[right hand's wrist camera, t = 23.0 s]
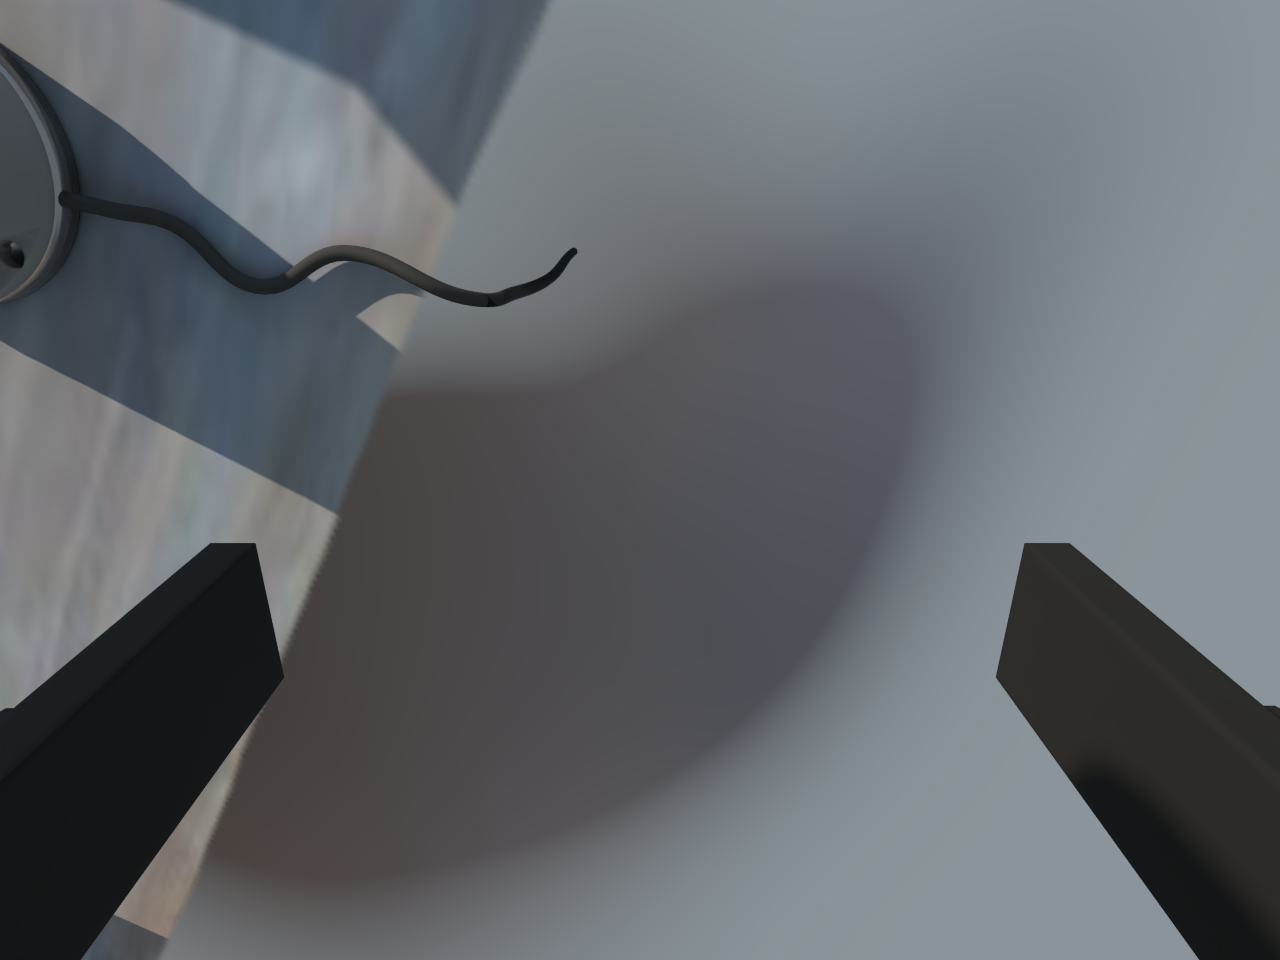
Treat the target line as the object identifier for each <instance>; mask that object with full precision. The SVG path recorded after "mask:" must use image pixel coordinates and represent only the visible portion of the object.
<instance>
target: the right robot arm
mask: <svg viewBox="0 0 1280 960" xmlns="http://www.w3.org/2000/svg"><path fill="white" fill-rule="evenodd" d="M79 211H82V212H87V213H91V214H96V215H100V216H105V217H109V218H114V219H119V220H125V221H132V222H139V223H146V224H151V225H155V226H159V227H162V228H165V229H167V230H169V231H171V232H173V233H175V234H177V235H178V236H180V237H181V238H183V239H184V240H185V241H187V242H188V243H189V244H190V245H191V246H192V247H193V248H194V249H195V250H196V251H197V252H198V253H199V254H200V255H201V256H202V257H203V258H204V259H205V260H206V261H207V262H208V264H209V265H210V266H211V267H212V268H213V269H214V270H215V271H216V272H217V273H218V274H219V275H221V276H222V277H223V278H224V279H226V280H227V281H228V282H230V283H231V284H233V285H234V286H236V287H238V288H240V289H242V290H245V291H248V292H251V293H255V294H276V293H279V292H282V291H285V290H287V289H289V288H291V287H293V286H294V285H296V284H298V283H299V282H300V281H302V280H303V279H305V278H306V277H307V276H309V275H310V274H311V273H313V272H314V271H316V270H317V269H319V268H321V267H322V266H324V265H327V264H329V263H332V262H336V261H355V262H361V263H366V264H370V265H373V266H376V267H379V268H381V269H384V270H386V271H388V272H391V273H393V274H395V275H397V276H399V277H400V278H402V279H404V280H406V281H408V282H410V283H412V284H414V285H415V286H417V287H419V288H421V289H423V290H425V291H427V292H429V293H431V294H433V295H436V296H438V297H440V298H443V299H446V300H449V301H452V302H455V303H460V304H464V305H469V306H477V307H498V306H502V305H505V304H507V303H509V302H511V301H514V300H517V299H520V298H523V297H526V296H529V295H532V294H534V293H536V292H538V291H541V290H542V289H544V288H546V287H548V286H549V285H550V284H552V283H553V282H554V281H555V280H556V279H557V278H558V277H559V276H560V275H561V274H562V273H563V271H564V270H565V268H566V267H567V265H568V263H569V262H570V261H571V259H572V258H573V257H574V256H575V255H576V254H577V252H578V251H577V249H576V248H571V249H570V250H569V251H567V252H566V253H565V254H564V255H563V256H562V258H561V259H560V260H559V261H558V263H557V264H556V265H555V266H554V268H553V269H552V270H551V271H549V272H548V273H547V274H545V275H544V276H542V277H540V278H538V279H535V280H533V281H530V282H527V283H524V284H520V285H516V286H513V287H509V288H506V289H504V290H501V291H499V292H495V293H480V292H473V291H468V290H464V289H460V288H456V287H453V286H451V285H448V284H445V283H443V282H441V281H438V280H436V279H434V278H432V277H430V276H428V275H426V274H425V273H423V272H421V271H419V270H417V269H415V268H413V267H412V266H410V265H408V264H406V263H404V262H402V261H400V260H398V259H396V258H394V257H392V256H389V255H387V254H384V253H382V252H379V251H376V250H373V249H369V248H364V247H359V246H349V245H338V246H331V247H327V248H323V249H321V250H319V251H316V252H315V253H313V254H311V255H309V256H308V257H306V258H305V259H304V260H302V261H301V262H299V263H298V264H297V265H295V266H294V267H293V268H291V269H290V270H288V271H287V272H285V273H284V274H282V275H280V276H278V277H274V278H271V279H256V278H252V277H249V276H246V275H244V274H242V273H240V272H239V271H237V270H236V269H235V268H233V267H232V266H231V265H230V264H229V263H228V262H227V261H226V260H225V259H224V258H223V257H222V256H221V255H220V254H219V253H218V252H217V251H216V249H215V248H214V247H213V246H212V245H211V244H210V243H209V242H208V241H207V240H206V239H205V238H204V237H203V236H202V235H201V234H200V233H198V232H197V231H196V230H195V229H194V228H192V227H191V226H190V225H188V224H187V223H185V222H184V221H182V220H180V219H178V218H176V217H174V216H172V215H170V214H168V213H165V212H162V211H159V210H155V209H151V208H146V207H139V206H132V205H125V204H119V203H114V202H110V201H105V200H101V199H97V198H92V197H88V196H83V195H79V184H78V176H77V171H76V167H75V162H74V159H73V155H72V152H71V149H70V146H69V143H68V141H67V138H66V136H65V133H64V131H63V129H62V127H61V125H60V123H59V121H58V119H57V116H56V114H55V113H54V111H53V109H52V108H51V106H50V104H49V103H48V101H47V99H46V98H45V97H44V95H43V94H42V92H41V91H40V89H39V88H38V87H37V85H36V84H35V83H34V81H33V80H32V79H31V78H30V76H29V75H28V74H27V73H26V72H25V70H24V69H23V68H22V67H21V66H20V65H19V64H18V63H17V62H16V61H15V60H14V59H13V58H12V57H11V56H10V55H9V54H8V53H7V52H6V51H5V50H4V49H2V48H1V47H0V304H1V303H6V302H9V301H13V300H16V299H19V298H21V297H24V296H26V295H28V294H30V293H32V292H33V291H35V290H37V289H38V288H40V287H41V286H42V285H44V284H45V283H46V282H47V281H48V280H49V279H50V278H51V277H52V276H53V275H54V274H55V273H56V272H57V271H58V270H59V268H60V267H61V266H62V264H63V263H64V261H65V259H66V257H67V256H68V254H69V252H70V249H71V247H72V244H73V242H74V238H75V235H76V231H77V226H78V220H79ZM283 678H284V675H283V670H282V665H281V660H280V656H279V651H278V646H277V642H276V637H275V632H274V628H273V623H272V618H271V614H270V609H269V604H268V600H267V595H266V590H265V586H264V581H263V576H262V572H261V567H260V562H259V558H258V553H257V548H256V544H255V543H210V544H209V545H208V546H207V547H205V548H204V549H203V550H202V551H201V552H199V553H198V554H197V555H196V556H195V557H193V558H192V559H191V560H190V561H189V562H187V563H186V564H185V565H184V566H183V567H182V568H180V569H179V570H178V571H177V572H176V573H174V574H173V575H172V576H171V577H170V578H168V579H167V580H166V581H165V582H164V583H162V584H161V585H160V586H159V587H158V588H156V589H155V590H154V591H153V592H152V593H151V594H149V595H148V596H147V597H146V598H145V599H143V600H142V601H141V602H140V603H139V604H137V605H136V606H135V607H134V608H133V609H131V610H130V611H129V612H128V613H127V614H125V615H124V616H123V617H122V618H121V619H120V620H118V621H117V622H116V623H115V624H114V625H112V626H111V627H110V628H109V629H108V630H106V631H105V632H104V633H103V634H102V635H100V636H99V637H98V638H97V639H96V640H94V641H93V642H92V643H91V644H90V645H89V646H87V647H86V648H85V649H84V650H83V651H81V652H80V653H79V654H78V655H77V656H75V657H74V658H73V659H72V660H71V661H69V662H68V663H67V664H66V665H65V666H63V667H62V668H61V669H60V670H59V671H58V672H56V673H55V674H54V675H53V676H52V677H50V678H49V679H48V680H47V681H46V682H44V683H43V684H42V685H41V686H40V687H38V688H37V689H36V690H35V691H34V692H32V693H31V694H30V695H29V696H28V697H27V698H25V699H24V700H23V701H22V702H21V703H19V704H18V705H17V706H16V707H15V708H6V709H4V710H2V711H0V960H81V959H82V957H83V956H84V955H85V953H86V952H87V950H88V949H89V948H90V946H91V945H92V943H93V942H94V941H95V939H96V938H97V936H98V935H99V934H100V932H101V931H102V930H103V928H104V927H105V925H106V924H107V923H108V921H109V920H110V918H111V917H112V916H113V914H114V913H115V911H116V910H117V909H118V907H119V906H120V905H121V903H122V902H123V900H124V899H125V898H126V896H127V895H128V893H129V892H130V891H131V889H132V888H133V886H134V885H135V884H136V882H137V881H138V880H139V878H140V877H141V875H142V874H143V873H144V871H145V870H146V868H147V867H148V866H149V864H150V863H151V861H152V860H153V859H154V857H155V856H156V855H157V853H158V852H159V850H160V849H161V848H162V846H163V845H164V843H165V842H166V841H167V839H168V838H169V836H170V835H171V834H172V832H173V831H174V830H175V828H176V827H177V825H178V824H179V823H180V821H181V820H182V818H183V817H184V816H185V814H186V813H187V811H188V810H189V809H190V807H191V806H192V805H193V803H194V802H195V800H196V799H197V798H198V796H199V795H200V793H201V792H202V791H203V789H204V788H205V786H206V785H207V784H208V782H209V781H210V780H211V778H212V777H213V775H214V774H215V773H216V771H217V770H218V768H219V767H220V766H221V764H222V763H223V761H224V760H225V759H226V757H227V756H228V755H229V753H230V752H231V750H232V749H233V748H234V746H235V745H236V743H237V742H238V741H239V739H240V738H241V736H242V735H243V734H244V732H245V731H246V730H247V728H248V727H249V725H250V724H251V723H252V721H253V720H254V718H255V717H256V716H257V714H258V713H259V711H260V710H261V709H262V707H263V706H264V705H265V703H266V702H267V700H268V699H269V698H270V696H271V695H272V693H273V692H274V691H275V689H276V688H277V686H278V685H279V684H280V682H281V681H282V680H283ZM996 678H997V680H998V681H999V682H1000V684H1001V685H1002V686H1003V688H1004V689H1005V691H1006V692H1007V693H1008V695H1009V696H1010V698H1011V699H1012V700H1013V702H1014V703H1015V705H1016V706H1017V707H1018V709H1019V710H1020V711H1021V713H1022V714H1023V716H1024V717H1025V718H1026V720H1027V721H1028V722H1029V724H1030V725H1031V727H1032V728H1033V730H1034V731H1035V732H1036V734H1037V735H1038V736H1039V738H1040V739H1041V741H1042V742H1043V743H1044V745H1045V746H1046V748H1047V749H1048V750H1049V752H1050V753H1051V755H1052V756H1053V757H1054V759H1055V760H1056V761H1057V763H1058V764H1059V766H1060V767H1061V768H1062V770H1063V771H1064V772H1065V774H1066V775H1067V777H1068V778H1069V780H1070V781H1071V782H1072V784H1073V785H1074V786H1075V788H1076V789H1077V791H1078V792H1079V793H1080V795H1081V796H1082V798H1083V799H1084V800H1085V802H1086V803H1087V804H1088V806H1089V807H1090V809H1091V810H1092V811H1093V813H1094V814H1095V816H1096V817H1097V818H1098V820H1099V821H1100V823H1101V824H1102V825H1103V827H1104V828H1105V829H1106V831H1107V832H1108V834H1109V835H1110V836H1111V838H1112V839H1113V841H1114V842H1115V843H1116V845H1117V846H1118V848H1119V849H1120V850H1121V852H1122V853H1123V855H1124V856H1125V857H1126V859H1127V860H1128V861H1129V863H1130V864H1131V866H1132V867H1133V868H1134V870H1135V871H1136V873H1137V874H1138V875H1139V877H1140V878H1141V879H1142V881H1143V882H1144V884H1145V885H1146V886H1147V888H1148V889H1149V891H1150V892H1151V893H1152V895H1153V896H1154V898H1155V899H1156V900H1157V902H1158V903H1159V905H1160V906H1161V907H1162V909H1163V910H1164V911H1165V913H1166V914H1167V916H1168V917H1169V918H1170V920H1171V921H1172V923H1173V924H1174V925H1175V927H1176V928H1177V929H1178V931H1179V932H1180V934H1181V935H1182V936H1183V938H1184V939H1185V941H1186V942H1187V943H1188V945H1189V946H1190V948H1191V949H1192V950H1193V952H1194V953H1195V955H1196V956H1197V957H1198V959H1199V960H1280V708H1278V707H1276V706H1263V705H1262V704H1261V703H1259V702H1258V701H1257V700H1256V699H1255V698H1253V697H1252V696H1251V695H1250V694H1249V693H1247V692H1246V691H1245V690H1244V689H1243V688H1242V687H1240V686H1239V685H1238V684H1237V683H1236V682H1234V681H1233V680H1232V679H1231V678H1230V677H1228V676H1227V675H1226V674H1225V673H1224V672H1222V671H1221V670H1220V669H1219V668H1218V667H1216V666H1215V665H1214V664H1213V663H1212V662H1211V661H1209V660H1208V659H1207V658H1206V657H1205V656H1203V655H1202V654H1201V653H1200V652H1199V651H1197V650H1196V649H1195V648H1194V647H1193V646H1191V645H1190V644H1189V643H1188V642H1187V641H1185V640H1184V639H1183V638H1182V637H1181V636H1180V635H1178V634H1177V633H1176V632H1175V631H1174V630H1172V629H1171V628H1170V627H1169V626H1168V625H1166V624H1165V623H1164V622H1163V621H1162V620H1160V619H1159V618H1158V617H1157V616H1156V615H1154V614H1153V613H1152V612H1151V611H1150V610H1149V609H1147V608H1146V607H1145V606H1144V605H1143V604H1141V603H1140V602H1139V601H1138V600H1137V599H1135V598H1134V597H1133V596H1132V595H1131V594H1129V593H1128V592H1127V591H1126V590H1125V589H1124V588H1122V587H1121V586H1120V585H1119V584H1118V583H1116V582H1115V581H1114V580H1113V579H1112V578H1110V577H1109V576H1108V575H1107V574H1106V573H1104V572H1103V571H1102V570H1101V569H1100V568H1098V567H1097V566H1096V565H1095V564H1094V563H1093V562H1091V561H1090V560H1089V559H1088V558H1087V557H1085V556H1084V555H1083V554H1082V553H1081V552H1079V551H1078V550H1077V549H1076V548H1075V547H1073V546H1072V545H1071V544H1070V543H1025V544H1024V548H1023V553H1022V558H1021V563H1020V567H1019V572H1018V576H1017V581H1016V586H1015V590H1014V595H1013V600H1012V605H1011V609H1010V614H1009V618H1008V623H1007V628H1006V632H1005V637H1004V642H1003V647H1002V651H1001V656H1000V660H999V665H998V670H997V675H996Z"/></svg>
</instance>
